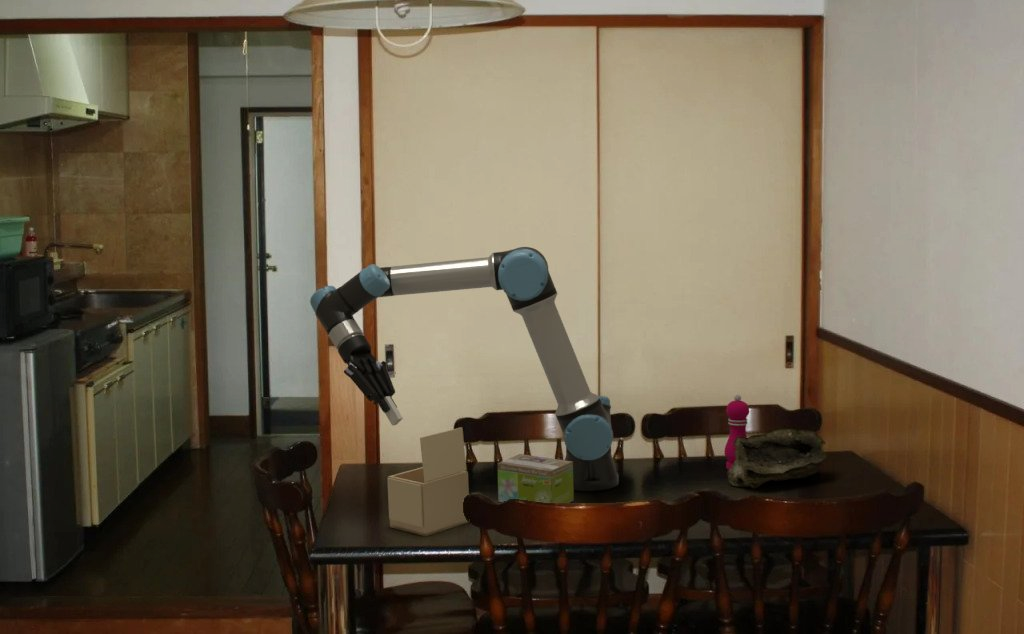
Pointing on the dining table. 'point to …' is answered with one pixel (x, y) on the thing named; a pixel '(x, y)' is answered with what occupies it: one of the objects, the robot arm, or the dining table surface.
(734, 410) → the pepper mill
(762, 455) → the hollow geode rock
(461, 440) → the flap
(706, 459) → the dining table surface
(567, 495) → the tea box
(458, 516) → the carton
